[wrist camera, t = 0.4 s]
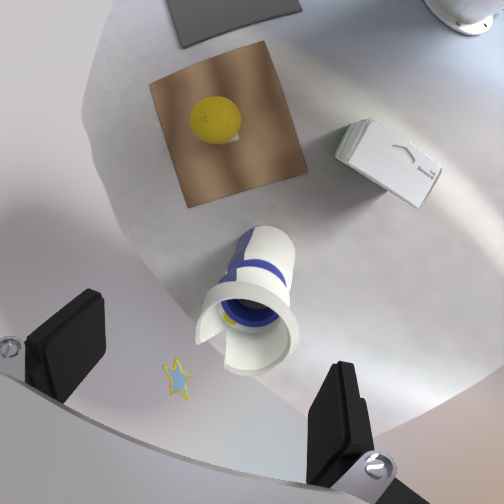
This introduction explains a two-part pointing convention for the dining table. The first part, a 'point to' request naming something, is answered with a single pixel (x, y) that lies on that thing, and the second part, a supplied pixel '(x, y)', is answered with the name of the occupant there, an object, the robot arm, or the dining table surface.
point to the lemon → (215, 120)
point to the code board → (247, 138)
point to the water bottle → (250, 308)
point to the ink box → (388, 161)
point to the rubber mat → (223, 16)
